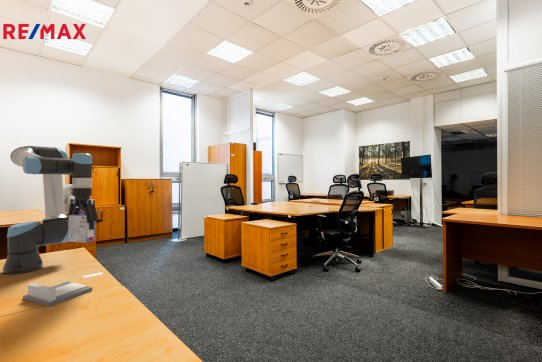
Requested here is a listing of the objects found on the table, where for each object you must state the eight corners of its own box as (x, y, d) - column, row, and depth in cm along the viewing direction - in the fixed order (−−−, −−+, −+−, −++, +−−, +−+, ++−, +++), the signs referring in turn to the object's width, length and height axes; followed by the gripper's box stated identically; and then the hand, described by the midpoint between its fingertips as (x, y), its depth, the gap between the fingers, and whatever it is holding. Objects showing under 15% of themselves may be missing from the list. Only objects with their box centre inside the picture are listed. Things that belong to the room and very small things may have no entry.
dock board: (22, 298, 106) (22, 285, 106) (67, 284, 121) (67, 272, 121) (48, 306, 100) (48, 292, 100) (92, 290, 114) (92, 277, 114)
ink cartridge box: (96, 240, 129) (96, 209, 129) (86, 242, 123) (86, 210, 123) (78, 239, 131) (78, 208, 131) (67, 241, 125) (67, 209, 125)
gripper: (57, 187, 128) (57, 235, 128) (90, 188, 119) (90, 239, 119) (74, 186, 135) (74, 232, 135) (107, 187, 126) (107, 236, 126)
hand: (82, 236), depth 127 cm, fingers closed on ink cartridge box, 10 cm apart
